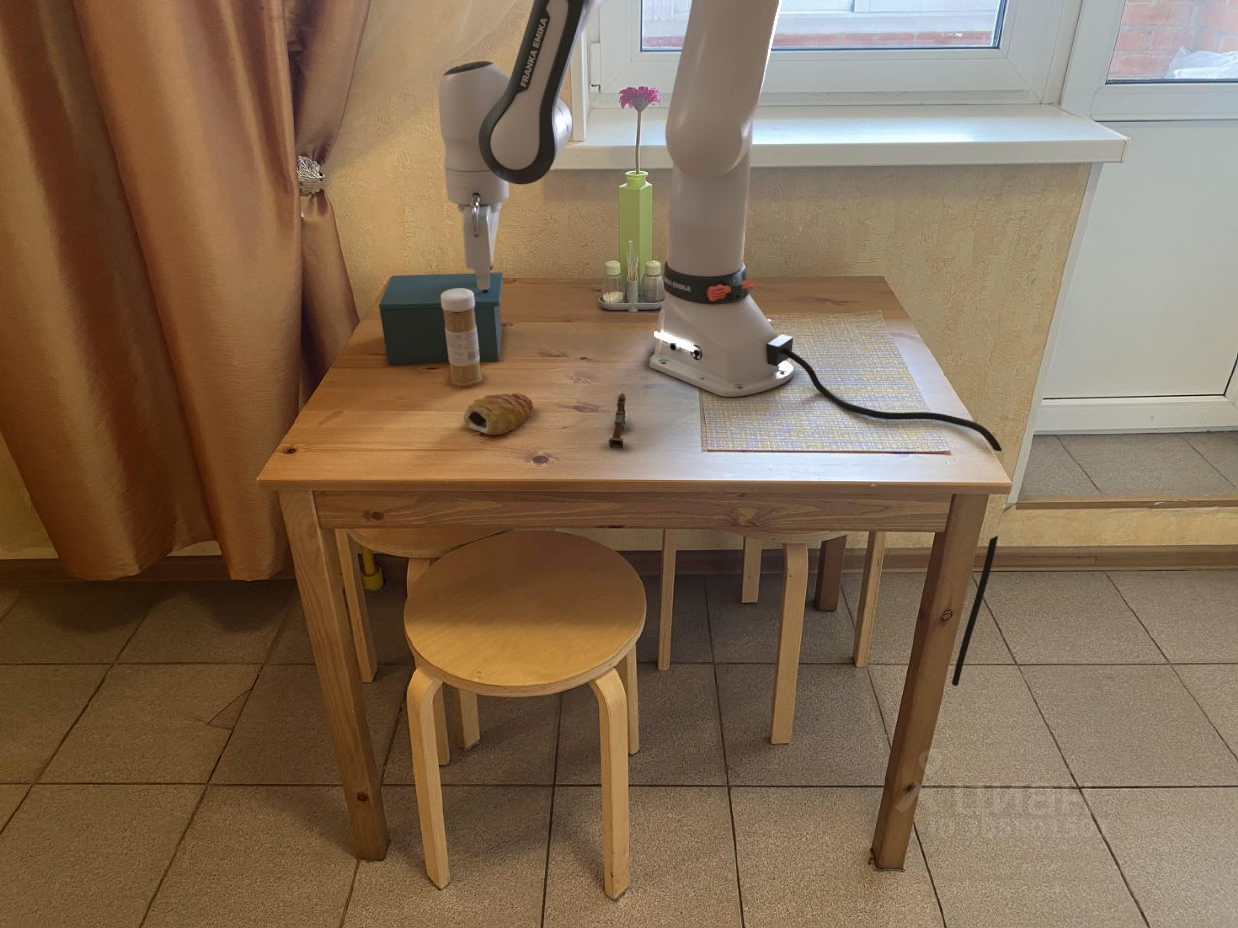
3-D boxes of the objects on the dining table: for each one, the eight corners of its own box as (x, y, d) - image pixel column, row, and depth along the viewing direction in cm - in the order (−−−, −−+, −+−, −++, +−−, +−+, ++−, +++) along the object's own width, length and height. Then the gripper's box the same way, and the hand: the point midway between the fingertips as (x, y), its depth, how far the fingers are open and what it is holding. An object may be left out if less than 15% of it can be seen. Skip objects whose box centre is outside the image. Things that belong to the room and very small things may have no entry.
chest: (502, 329, 145) (497, 277, 140) (498, 361, 134) (494, 306, 130) (399, 332, 144) (392, 280, 139) (388, 365, 133) (379, 310, 129)
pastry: (512, 401, 123) (510, 376, 121) (546, 416, 119) (545, 391, 117) (460, 425, 117) (457, 400, 115) (494, 443, 113) (492, 416, 111)
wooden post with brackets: (630, 411, 118) (628, 390, 114) (624, 460, 113) (622, 439, 110) (616, 410, 118) (615, 389, 114) (610, 459, 114) (608, 438, 110)
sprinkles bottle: (471, 371, 131) (462, 284, 124) (488, 381, 128) (480, 293, 121) (444, 380, 129) (434, 292, 122) (460, 390, 126) (450, 301, 119)
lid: (502, 277, 140) (500, 246, 138) (499, 306, 130) (497, 273, 127) (392, 280, 139) (387, 249, 137) (379, 309, 129) (374, 276, 126)
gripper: (496, 204, 118) (504, 302, 125) (502, 168, 135) (508, 256, 142) (449, 205, 117) (459, 303, 125) (461, 169, 135) (469, 257, 142)
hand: (485, 278), depth 134 cm, fingers open, 7 cm apart
